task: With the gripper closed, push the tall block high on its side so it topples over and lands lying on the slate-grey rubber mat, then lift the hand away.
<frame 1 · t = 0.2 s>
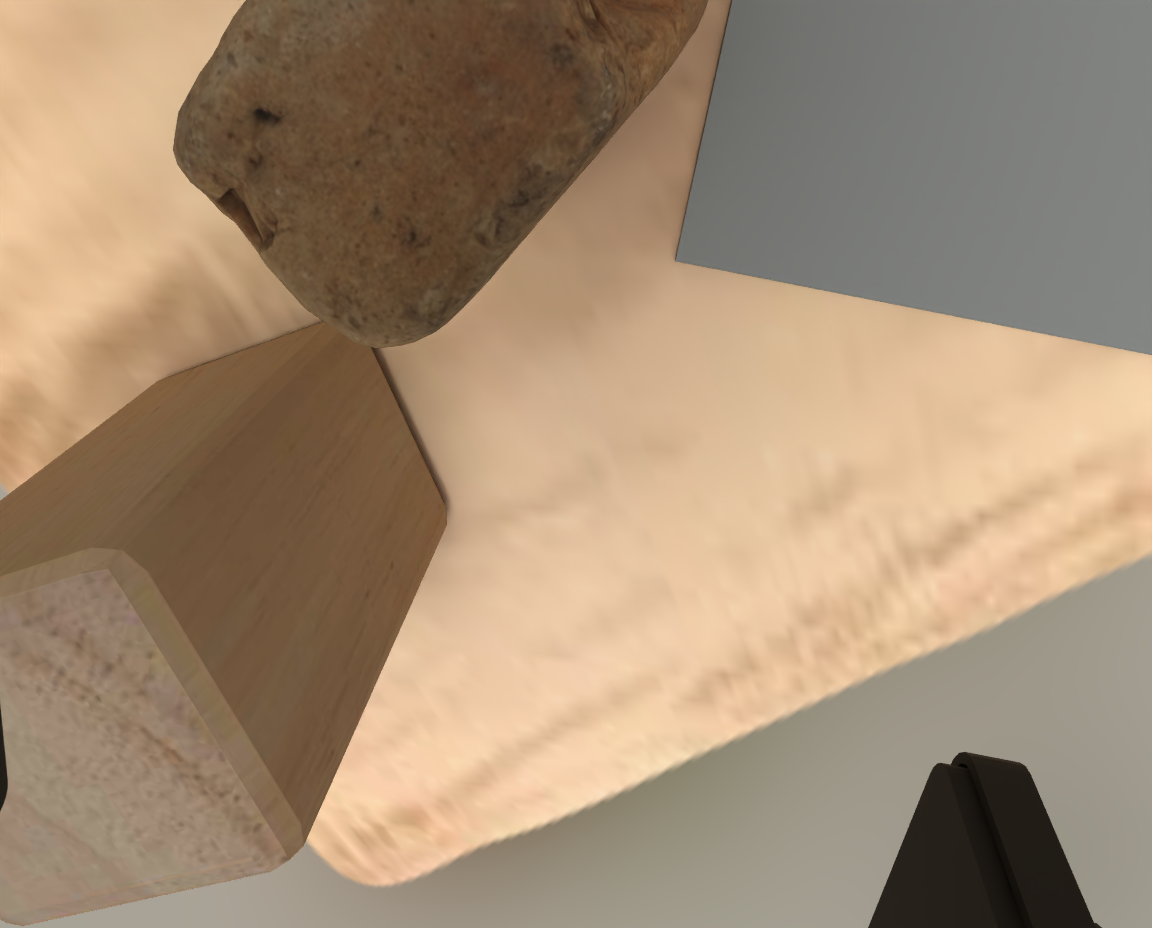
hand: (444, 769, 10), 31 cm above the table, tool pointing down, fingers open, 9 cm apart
wooden block: (308, 447, 44), on the table
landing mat: (1003, 118, 36), on the table
block: (549, 29, 36), on the table
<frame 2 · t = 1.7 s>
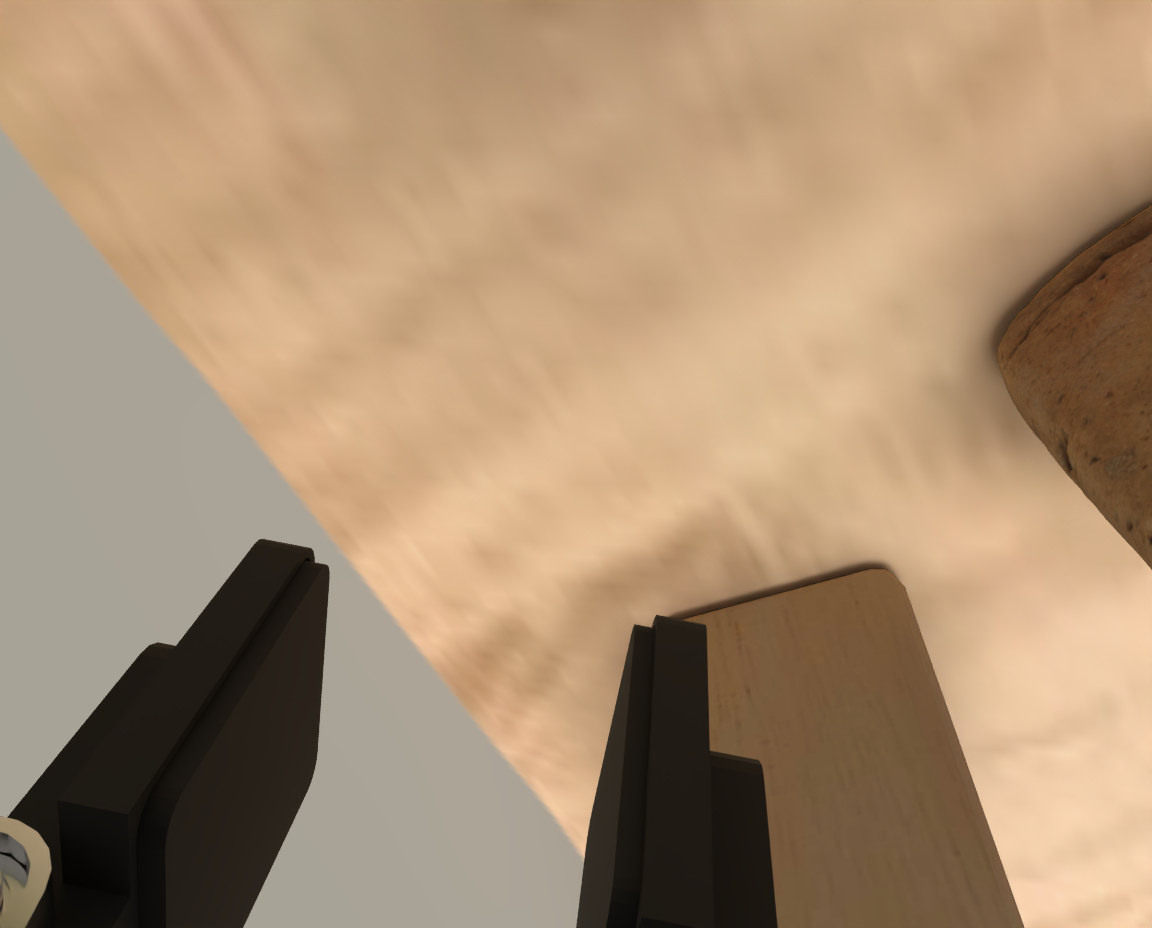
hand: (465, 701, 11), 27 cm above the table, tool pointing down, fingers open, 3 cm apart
wooden block: (803, 681, 44), on the table
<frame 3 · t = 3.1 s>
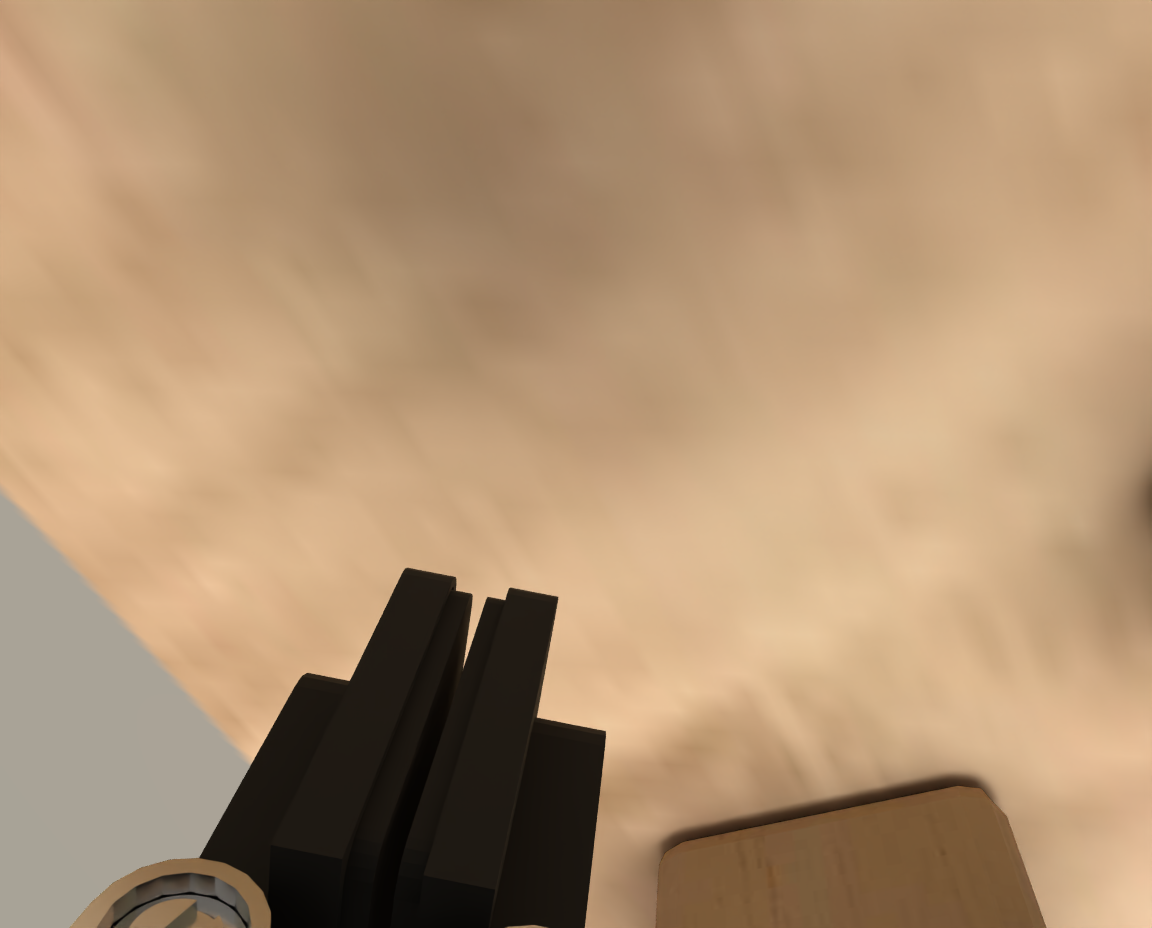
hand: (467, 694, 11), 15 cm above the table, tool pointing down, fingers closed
wooden block: (856, 915, 32), on the table
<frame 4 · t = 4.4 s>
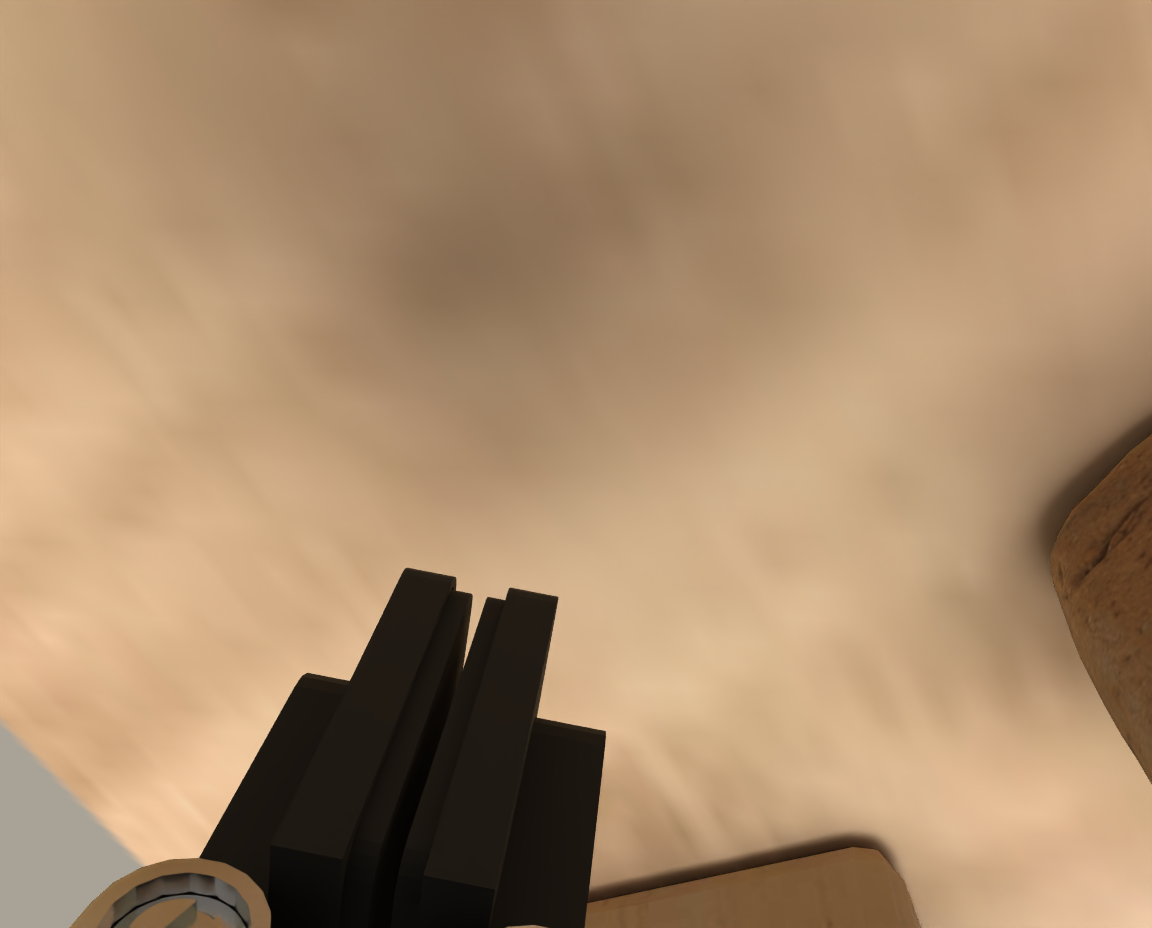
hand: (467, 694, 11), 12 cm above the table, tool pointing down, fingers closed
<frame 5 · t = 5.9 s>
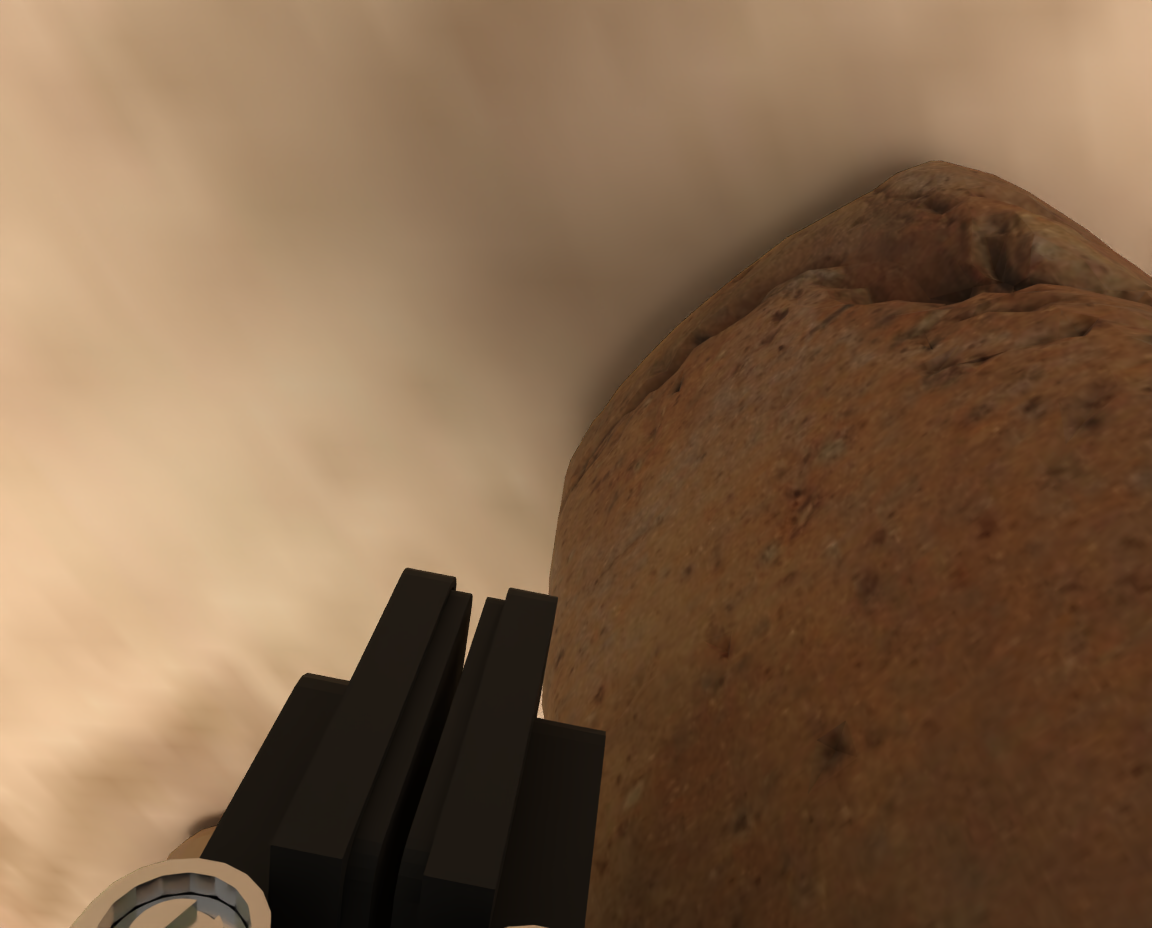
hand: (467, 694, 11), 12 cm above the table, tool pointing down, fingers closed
wooden block: (405, 905, 30), on the table
block: (818, 385, 22), on the table, touching gripper
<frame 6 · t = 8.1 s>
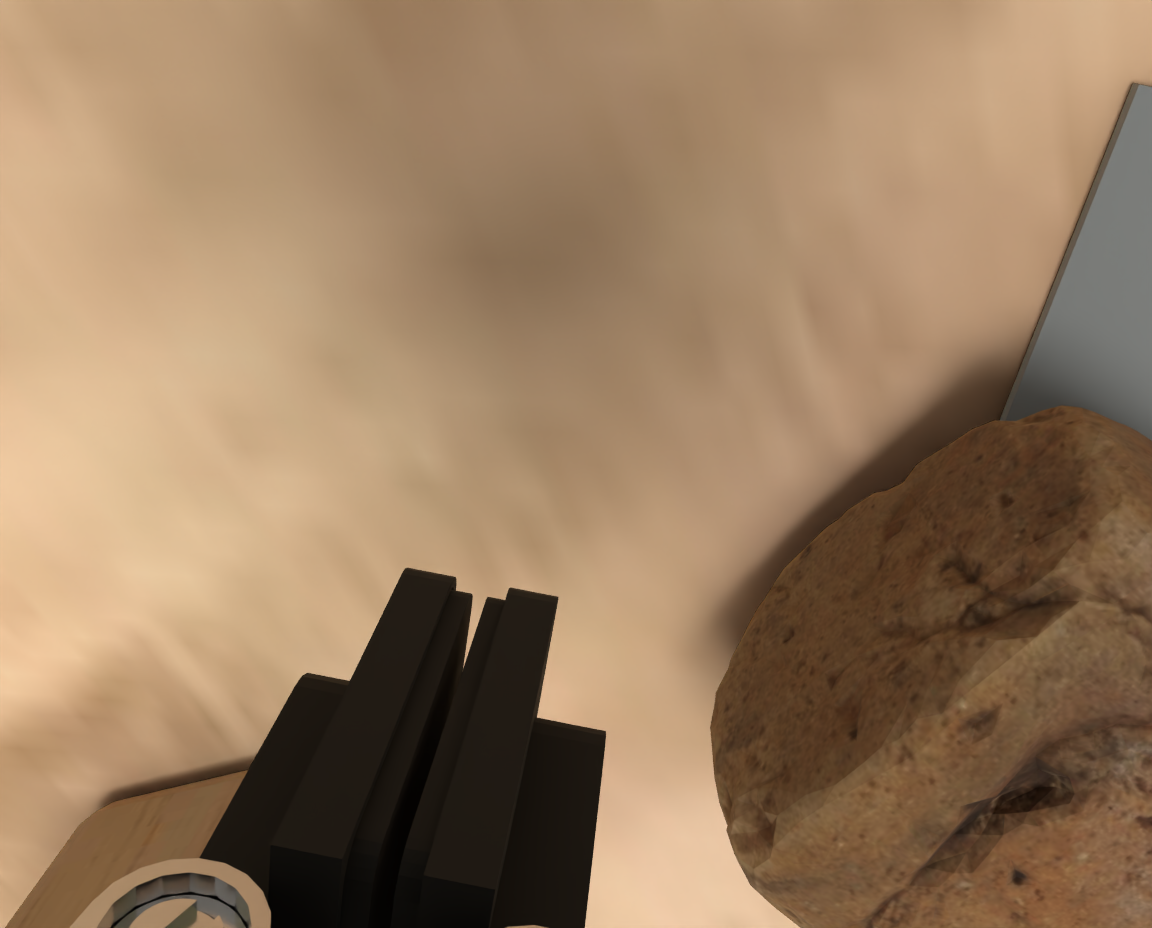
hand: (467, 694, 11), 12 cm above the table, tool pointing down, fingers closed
wooden block: (318, 883, 30), on the table
block: (855, 593, 19), point 4 cm above the table, touching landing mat
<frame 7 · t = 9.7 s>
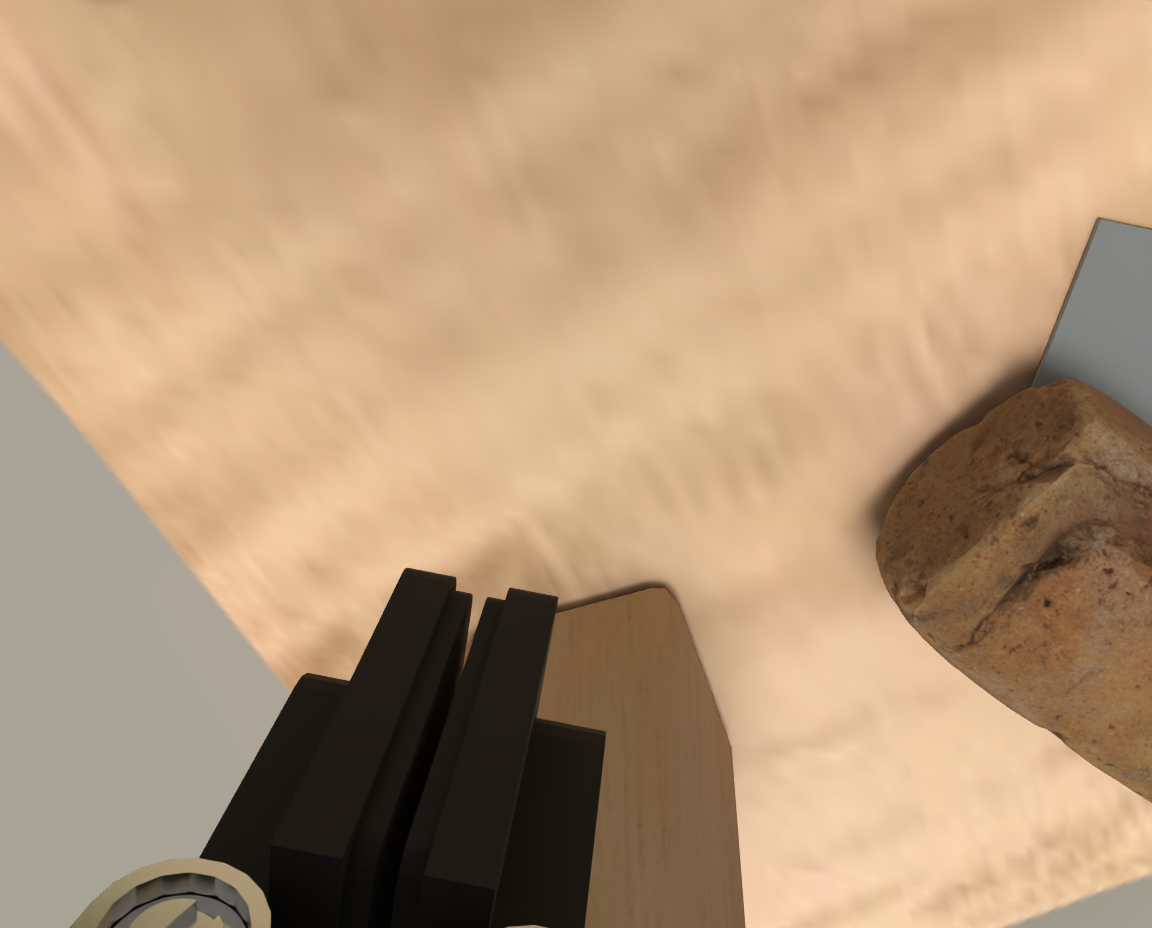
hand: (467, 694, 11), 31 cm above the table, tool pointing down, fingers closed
wooden block: (601, 688, 49), on the table
block: (961, 474, 38), point 4 cm above the table, touching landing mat
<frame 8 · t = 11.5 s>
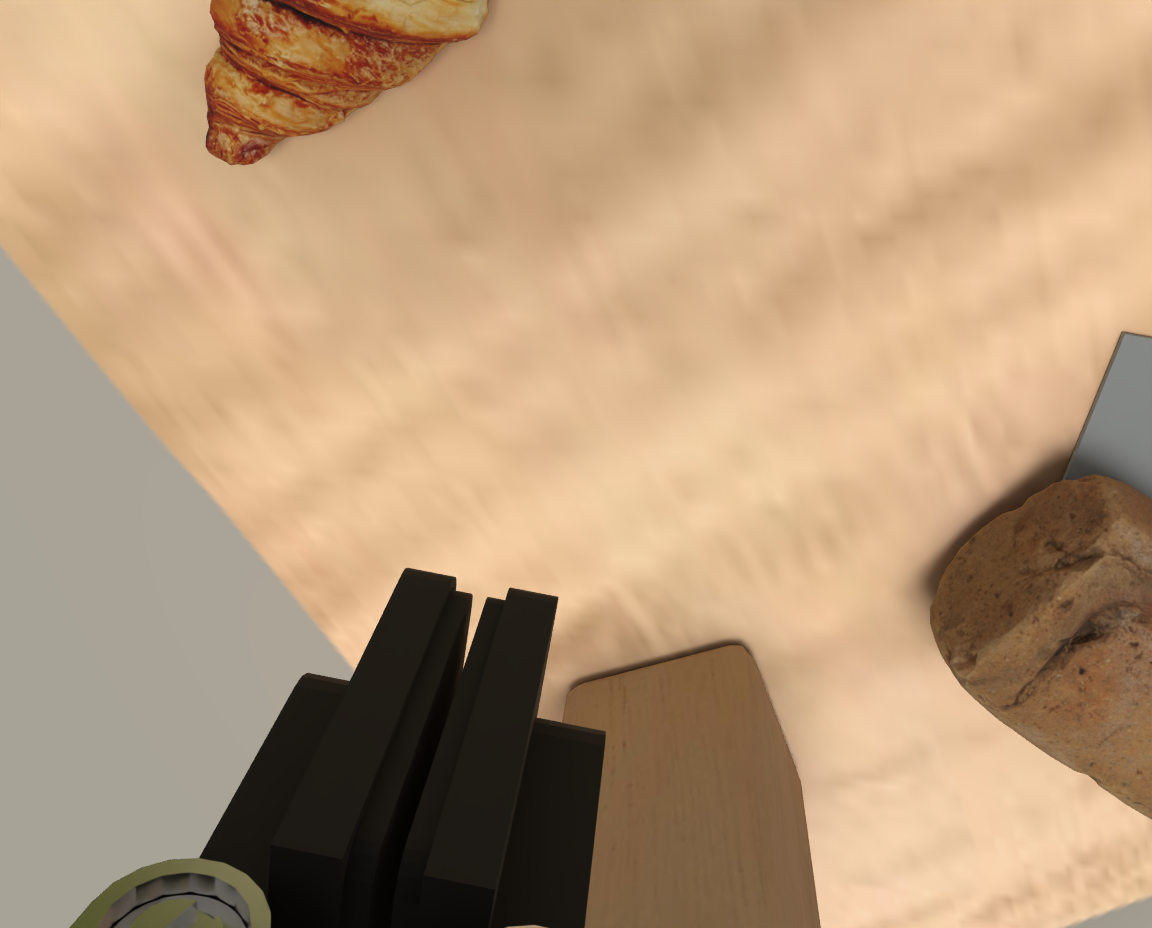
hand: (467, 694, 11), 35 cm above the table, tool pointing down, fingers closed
wooden block: (684, 729, 55), on the table
block: (1005, 557, 44), point 4 cm above the table, touching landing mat
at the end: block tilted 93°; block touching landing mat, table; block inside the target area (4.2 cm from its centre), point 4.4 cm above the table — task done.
